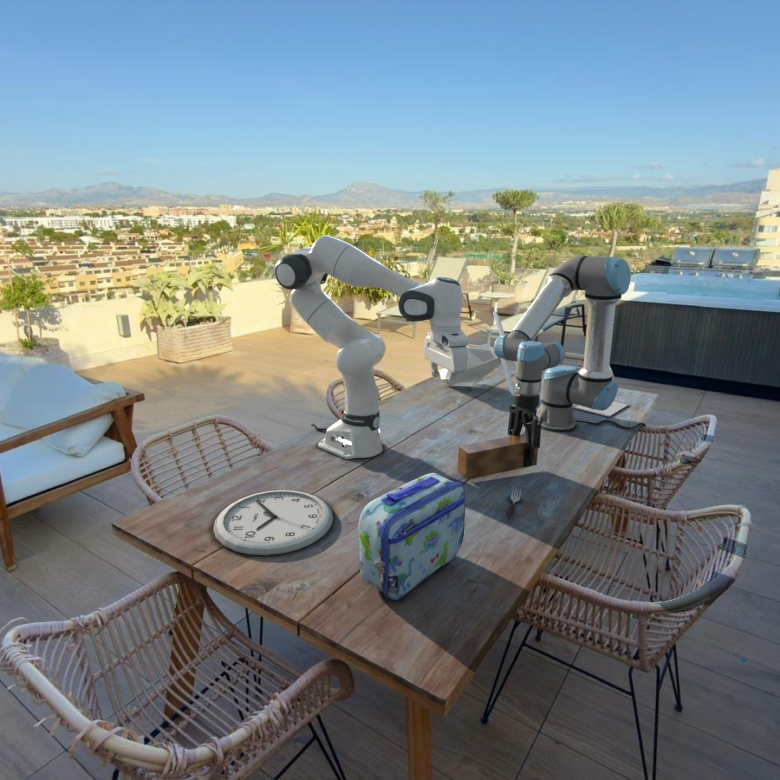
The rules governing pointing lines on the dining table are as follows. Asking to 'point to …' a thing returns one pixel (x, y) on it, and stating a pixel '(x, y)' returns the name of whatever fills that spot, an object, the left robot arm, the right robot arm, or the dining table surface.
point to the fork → (514, 499)
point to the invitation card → (608, 412)
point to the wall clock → (273, 522)
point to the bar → (493, 456)
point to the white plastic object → (482, 363)
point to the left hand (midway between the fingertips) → (442, 380)
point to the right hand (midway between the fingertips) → (521, 462)
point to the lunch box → (410, 533)
